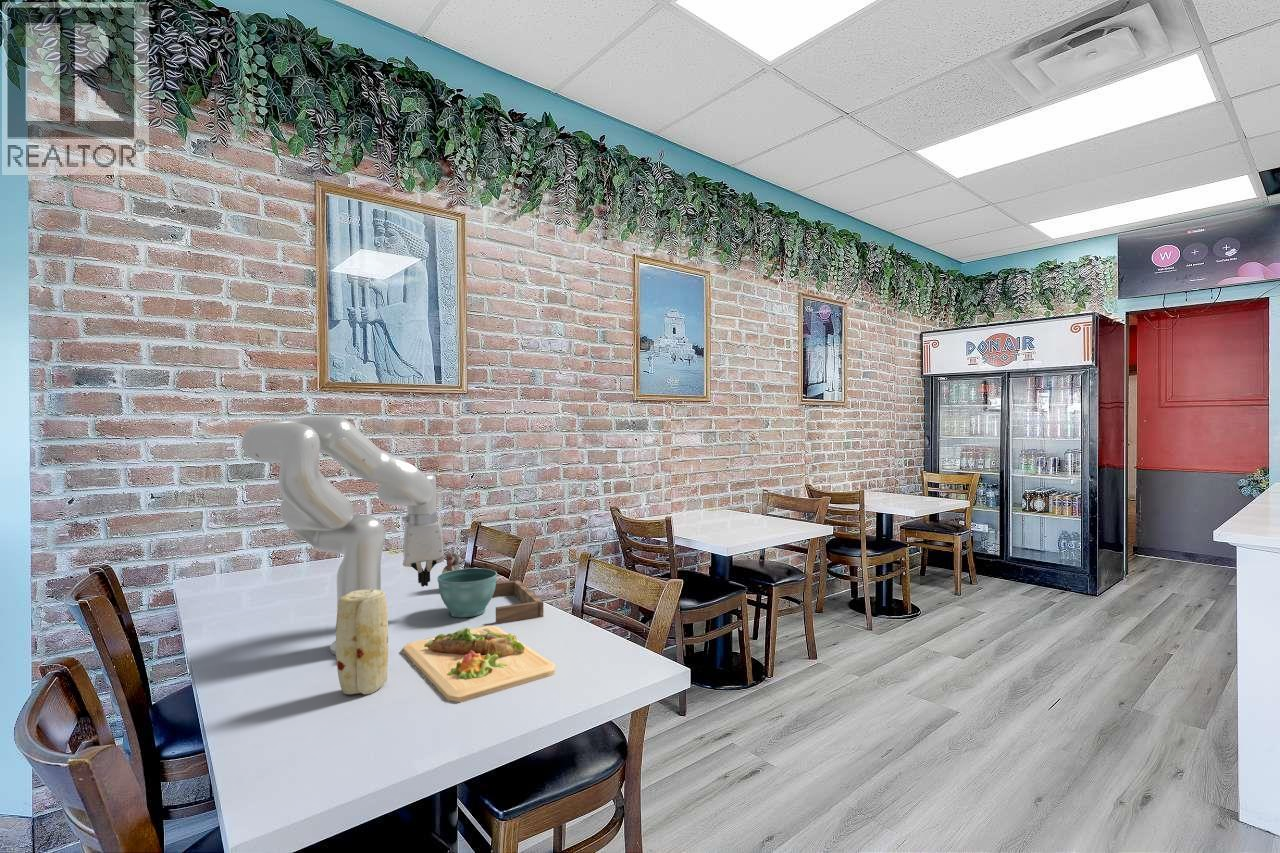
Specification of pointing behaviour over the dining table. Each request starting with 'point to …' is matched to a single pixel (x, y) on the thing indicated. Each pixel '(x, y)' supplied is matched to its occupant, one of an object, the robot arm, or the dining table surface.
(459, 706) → the dining table surface
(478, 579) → the flower pot
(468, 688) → the cutting board
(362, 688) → the food model
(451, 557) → the figurine
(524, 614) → the walnut bay
